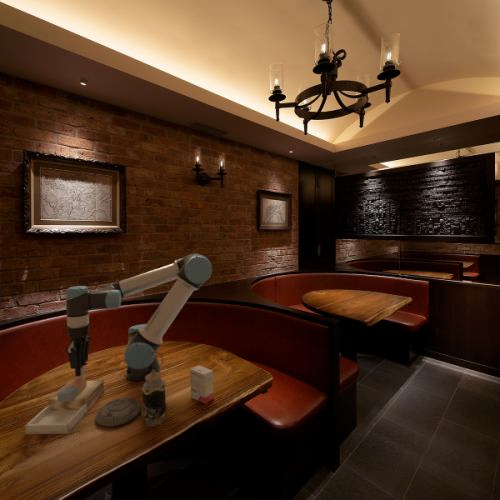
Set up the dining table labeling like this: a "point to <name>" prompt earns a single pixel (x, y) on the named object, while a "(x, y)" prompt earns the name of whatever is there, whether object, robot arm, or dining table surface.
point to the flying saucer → (118, 412)
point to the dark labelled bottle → (153, 398)
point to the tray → (54, 421)
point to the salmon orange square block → (78, 384)
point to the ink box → (201, 384)
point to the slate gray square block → (68, 393)
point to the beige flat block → (79, 397)
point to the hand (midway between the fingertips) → (80, 382)
